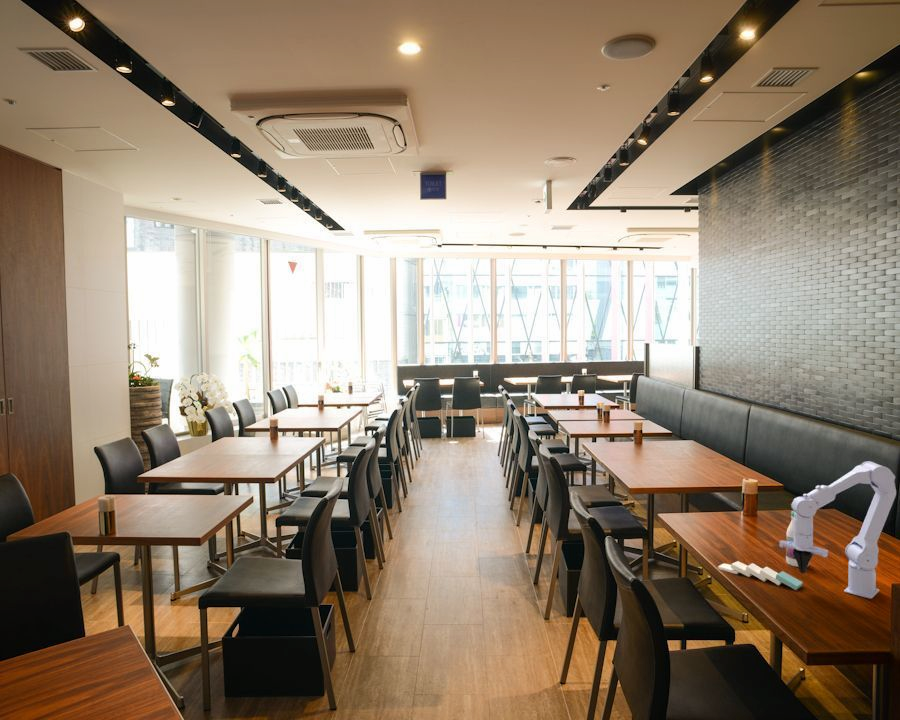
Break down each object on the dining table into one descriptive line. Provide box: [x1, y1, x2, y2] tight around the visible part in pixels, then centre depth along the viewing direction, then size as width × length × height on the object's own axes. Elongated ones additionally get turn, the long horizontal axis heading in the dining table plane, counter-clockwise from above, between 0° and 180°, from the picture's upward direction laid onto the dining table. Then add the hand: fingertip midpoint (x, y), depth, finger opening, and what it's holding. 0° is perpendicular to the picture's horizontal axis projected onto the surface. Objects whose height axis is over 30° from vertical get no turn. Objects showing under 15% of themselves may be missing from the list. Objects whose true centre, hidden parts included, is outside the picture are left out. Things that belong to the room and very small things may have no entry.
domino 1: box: [717, 563, 741, 575], centre depth 230 cm, size 5×2×7 cm
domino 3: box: [745, 562, 769, 582], centre depth 222 cm, size 5×2×7 cm
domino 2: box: [730, 560, 753, 578], centre depth 226 cm, size 5×2×7 cm
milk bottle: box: [785, 510, 810, 568], centre depth 234 cm, size 8×8×20 cm
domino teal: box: [775, 570, 803, 591], centre depth 214 cm, size 5×2×7 cm
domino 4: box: [759, 566, 783, 586], centre depth 218 cm, size 5×2×7 cm
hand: (803, 572), depth 211 cm, fingers closed
